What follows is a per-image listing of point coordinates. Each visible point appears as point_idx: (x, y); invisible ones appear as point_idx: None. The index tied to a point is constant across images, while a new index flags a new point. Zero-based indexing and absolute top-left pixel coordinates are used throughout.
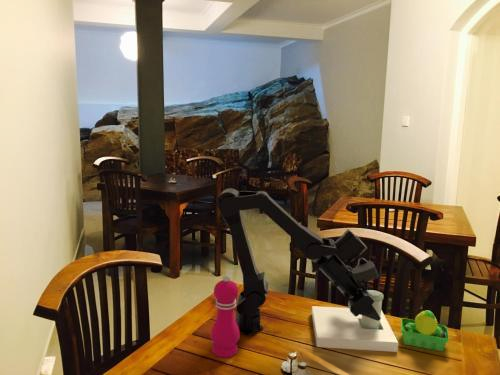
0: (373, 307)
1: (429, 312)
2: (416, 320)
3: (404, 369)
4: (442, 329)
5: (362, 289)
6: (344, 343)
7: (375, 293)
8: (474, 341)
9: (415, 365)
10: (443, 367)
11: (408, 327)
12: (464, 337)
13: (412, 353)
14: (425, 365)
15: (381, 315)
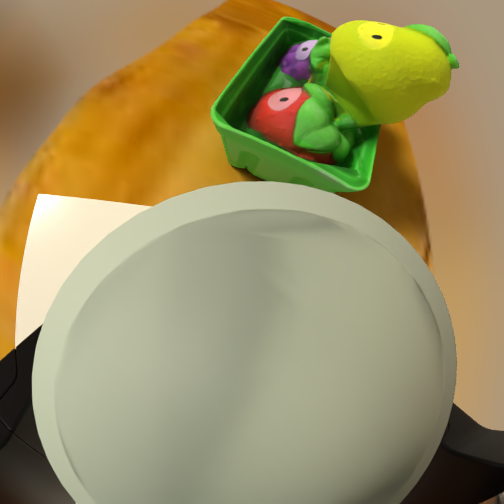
0: (457, 406)
1: (446, 41)
2: (400, 99)
3: (429, 267)
4: (283, 31)
5: (7, 481)
6: None
7: (232, 366)
8: (253, 9)
9: (409, 220)
10: (401, 144)
11: (336, 142)
12: (231, 14)
13: (348, 192)
14: (404, 189)
15: (98, 219)
